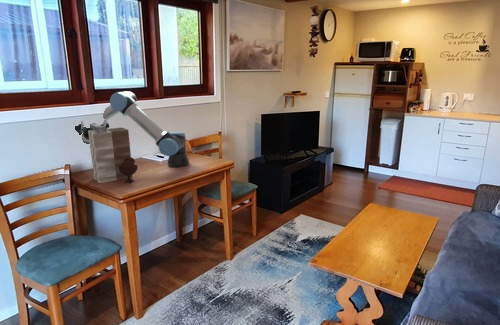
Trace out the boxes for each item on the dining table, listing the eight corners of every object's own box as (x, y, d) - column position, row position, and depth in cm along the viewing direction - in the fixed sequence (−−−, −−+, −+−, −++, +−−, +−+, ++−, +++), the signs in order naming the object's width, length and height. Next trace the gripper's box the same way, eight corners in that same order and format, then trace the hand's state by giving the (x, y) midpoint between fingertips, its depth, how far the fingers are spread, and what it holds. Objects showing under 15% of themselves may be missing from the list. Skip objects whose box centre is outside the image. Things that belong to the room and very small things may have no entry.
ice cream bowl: (122, 179, 211) (120, 155, 207) (140, 178, 212) (138, 155, 208) (117, 184, 201) (114, 160, 197) (136, 184, 202) (134, 159, 198)
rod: (88, 128, 213) (88, 123, 212) (97, 127, 216) (96, 123, 215) (97, 132, 198) (97, 127, 197) (106, 131, 201) (106, 126, 200)
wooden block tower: (94, 178, 213) (88, 130, 205) (126, 172, 225) (121, 127, 217) (99, 183, 204) (93, 133, 196) (132, 177, 216) (128, 129, 208)
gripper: (109, 137, 233) (116, 125, 216) (69, 142, 218) (73, 129, 201) (107, 127, 234) (114, 114, 217) (66, 131, 219) (70, 117, 203)
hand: (94, 121), depth 209 cm, fingers open, 13 cm apart
